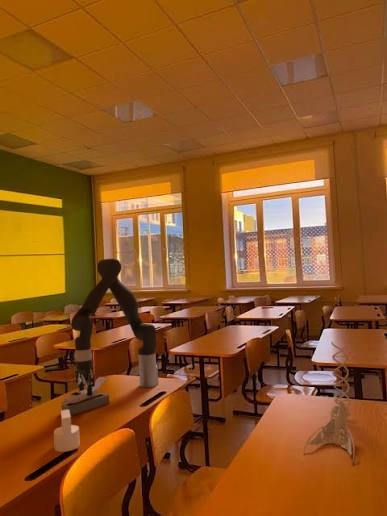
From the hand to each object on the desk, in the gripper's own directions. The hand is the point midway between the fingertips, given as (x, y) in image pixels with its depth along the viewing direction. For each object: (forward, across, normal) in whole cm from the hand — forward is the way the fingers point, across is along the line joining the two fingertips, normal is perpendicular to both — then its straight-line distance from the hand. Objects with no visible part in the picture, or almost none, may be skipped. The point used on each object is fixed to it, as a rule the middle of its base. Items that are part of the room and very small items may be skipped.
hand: (85, 394), depth 192 cm
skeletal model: (+7, -105, -37) cm, 112 cm away
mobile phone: (+2, 0, 0) cm, 2 cm away
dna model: (+7, -95, -63) cm, 114 cm away
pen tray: (+7, 0, 0) cm, 7 cm away
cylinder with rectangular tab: (+7, -30, +25) cm, 40 cm away
